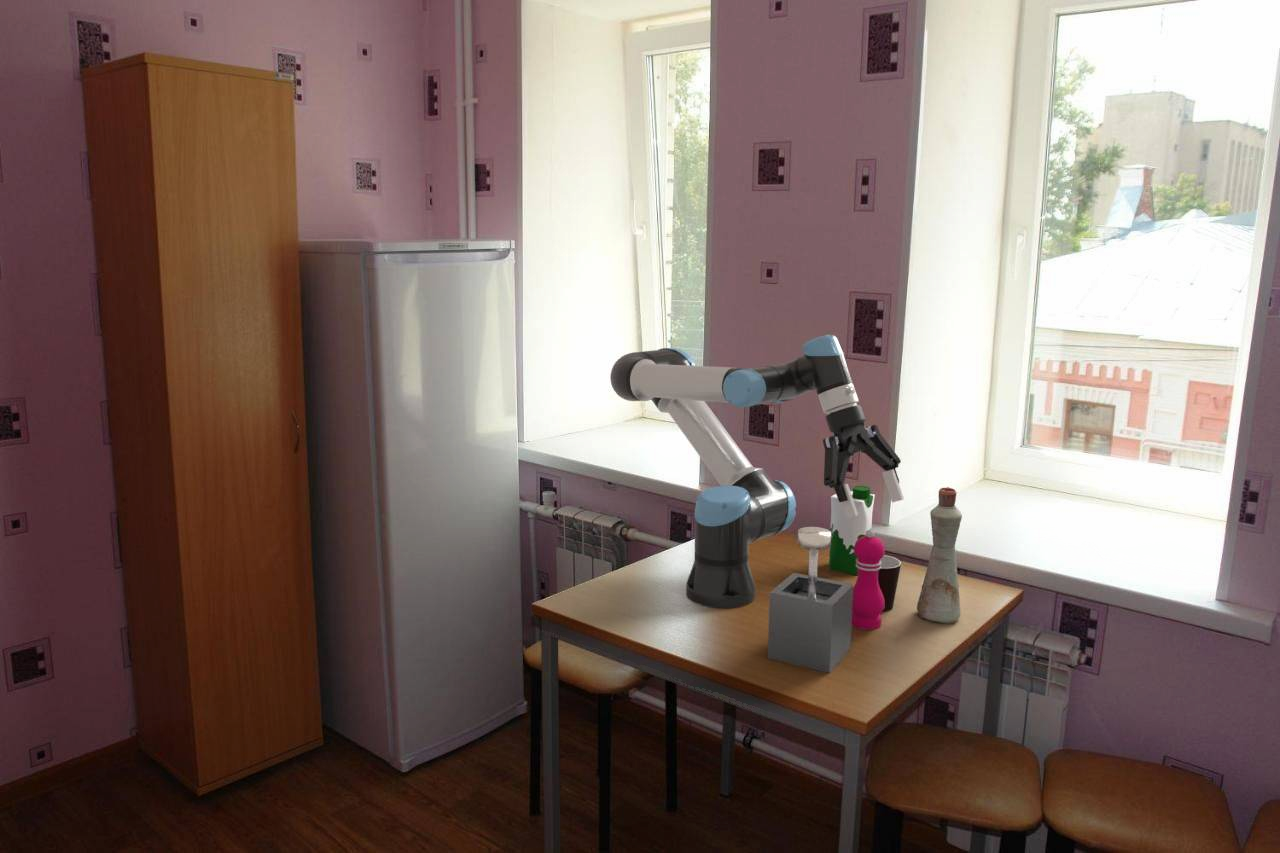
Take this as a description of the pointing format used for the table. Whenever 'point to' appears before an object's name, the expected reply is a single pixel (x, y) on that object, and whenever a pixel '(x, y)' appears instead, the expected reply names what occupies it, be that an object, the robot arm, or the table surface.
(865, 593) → the pepper mill
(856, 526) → the milk carton
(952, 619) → the bottle
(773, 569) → the table surface
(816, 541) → the plunger
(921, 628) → the table surface
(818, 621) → the tower
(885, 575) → the coffee mug
